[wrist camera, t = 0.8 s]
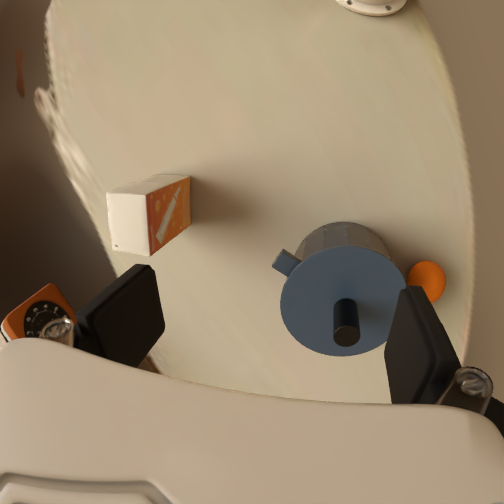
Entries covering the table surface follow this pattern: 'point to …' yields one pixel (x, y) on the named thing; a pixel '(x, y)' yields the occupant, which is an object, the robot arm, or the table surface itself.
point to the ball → (428, 279)
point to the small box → (148, 213)
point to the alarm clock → (37, 314)
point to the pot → (330, 243)
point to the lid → (342, 300)
